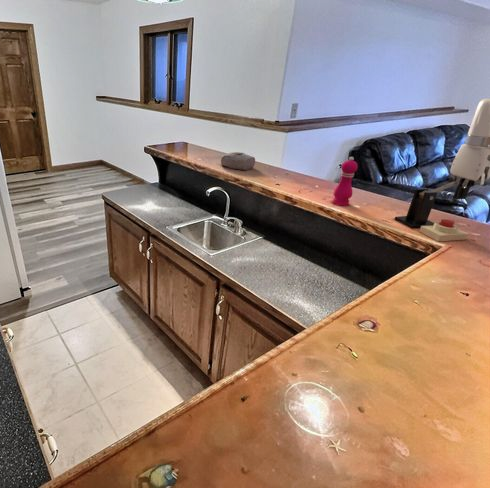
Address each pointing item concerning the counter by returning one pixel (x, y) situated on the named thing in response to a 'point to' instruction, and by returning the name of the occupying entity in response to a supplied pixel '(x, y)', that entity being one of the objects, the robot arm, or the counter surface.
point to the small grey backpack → (238, 161)
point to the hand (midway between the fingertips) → (458, 198)
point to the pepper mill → (345, 183)
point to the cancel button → (446, 223)
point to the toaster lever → (452, 183)
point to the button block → (443, 232)
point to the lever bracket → (419, 210)
